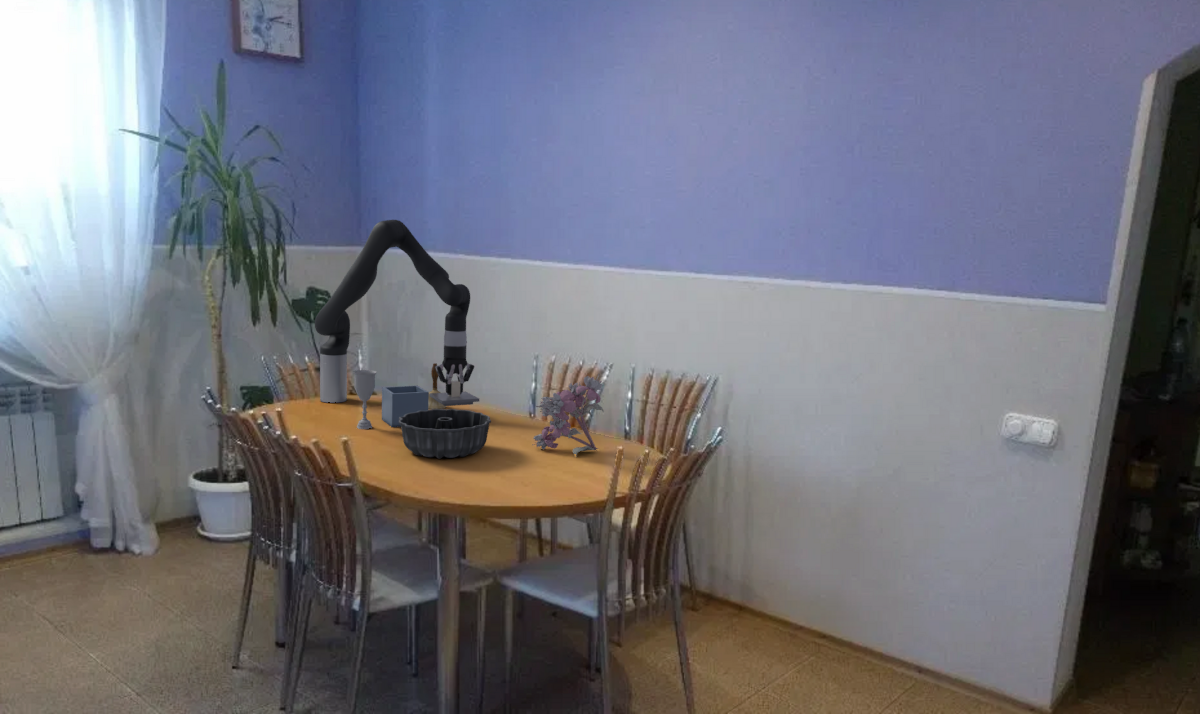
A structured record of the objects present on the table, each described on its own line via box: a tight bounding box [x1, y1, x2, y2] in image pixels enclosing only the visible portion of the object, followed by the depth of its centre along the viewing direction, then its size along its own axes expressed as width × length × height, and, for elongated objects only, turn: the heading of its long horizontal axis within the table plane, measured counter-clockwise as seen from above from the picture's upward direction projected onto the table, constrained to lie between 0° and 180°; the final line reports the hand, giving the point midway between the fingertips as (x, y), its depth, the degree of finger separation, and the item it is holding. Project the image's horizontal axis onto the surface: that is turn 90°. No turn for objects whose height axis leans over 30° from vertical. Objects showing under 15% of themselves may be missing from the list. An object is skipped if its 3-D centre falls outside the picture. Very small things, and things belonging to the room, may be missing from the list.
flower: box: [531, 373, 605, 456], centre depth 254 cm, size 20×22×25 cm
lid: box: [430, 380, 480, 407], centre depth 290 cm, size 13×13×7 cm
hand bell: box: [428, 363, 447, 410], centre depth 307 cm, size 8×8×16 cm
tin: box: [381, 385, 430, 428], centre depth 282 cm, size 12×12×11 cm
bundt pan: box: [399, 408, 492, 460], centre depth 249 cm, size 26×26×10 cm
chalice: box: [352, 369, 377, 430], centre depth 272 cm, size 7×7×18 cm
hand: (454, 394), depth 290 cm, fingers closed on lid, 3 cm apart
